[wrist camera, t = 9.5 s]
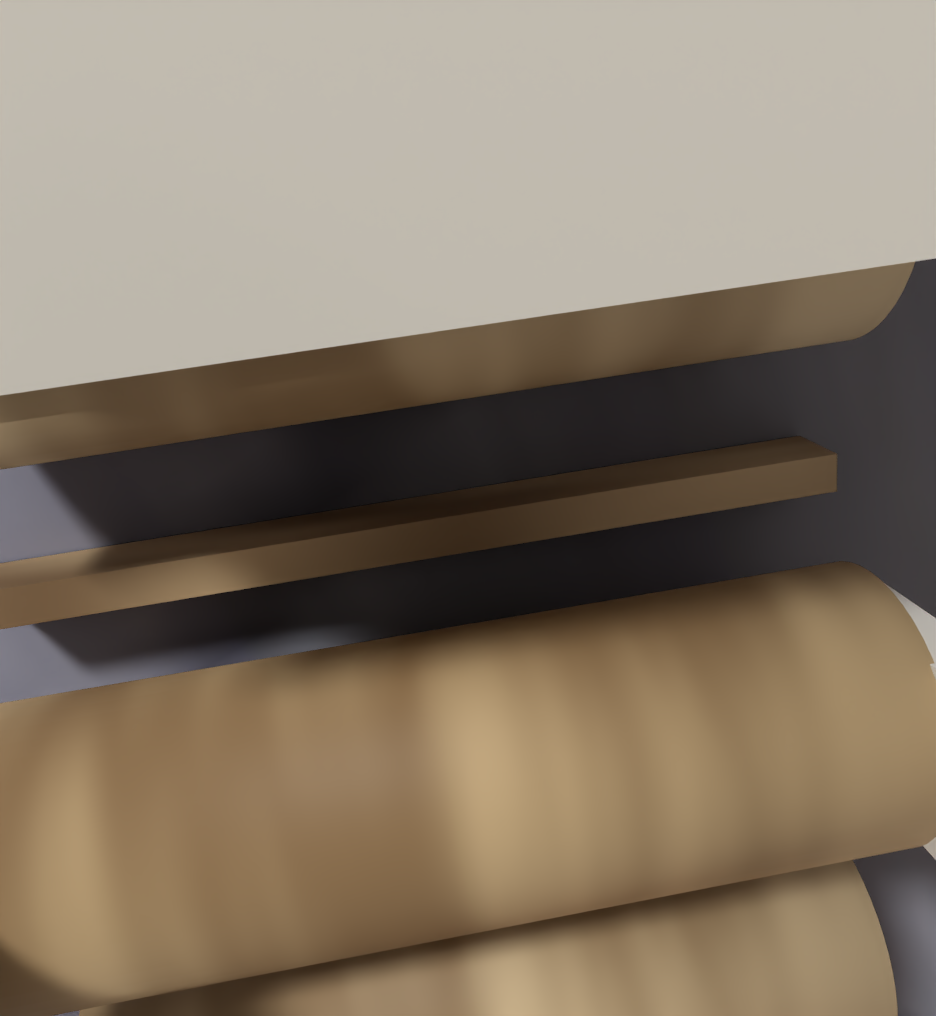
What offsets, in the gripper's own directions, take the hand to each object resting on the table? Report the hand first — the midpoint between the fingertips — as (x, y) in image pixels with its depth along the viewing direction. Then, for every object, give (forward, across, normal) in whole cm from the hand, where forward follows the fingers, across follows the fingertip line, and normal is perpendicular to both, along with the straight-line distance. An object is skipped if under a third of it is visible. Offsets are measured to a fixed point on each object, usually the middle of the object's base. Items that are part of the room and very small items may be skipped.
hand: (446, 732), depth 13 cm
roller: (+1, 0, 0) cm, 1 cm away
